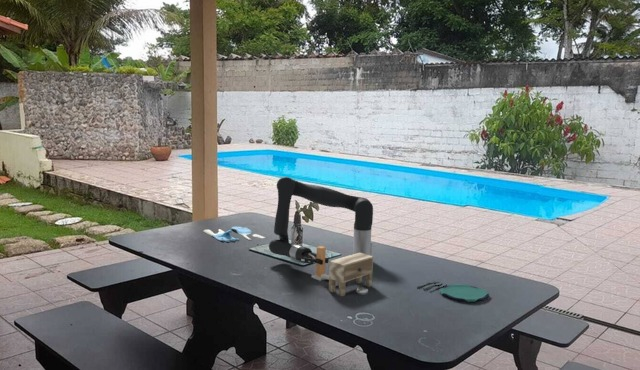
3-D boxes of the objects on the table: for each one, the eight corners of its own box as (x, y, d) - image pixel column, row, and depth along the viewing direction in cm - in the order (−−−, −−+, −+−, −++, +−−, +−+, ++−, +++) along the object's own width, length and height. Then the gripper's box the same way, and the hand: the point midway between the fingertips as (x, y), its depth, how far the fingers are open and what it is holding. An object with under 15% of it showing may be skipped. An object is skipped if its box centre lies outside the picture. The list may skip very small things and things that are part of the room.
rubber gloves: (243, 227, 354) (243, 218, 353) (266, 239, 327) (266, 228, 326) (203, 232, 339) (203, 222, 338) (224, 244, 312) (224, 234, 311)
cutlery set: (474, 307, 224) (474, 302, 224) (413, 290, 245) (413, 285, 244) (495, 296, 239) (495, 291, 238) (436, 280, 259) (436, 276, 259)
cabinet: (328, 291, 239) (329, 260, 237) (358, 281, 253) (359, 252, 251) (344, 297, 232) (345, 265, 230) (374, 286, 246) (375, 257, 244)
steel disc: (362, 290, 242) (362, 286, 241) (370, 293, 238) (370, 289, 238) (354, 292, 239) (354, 288, 238) (361, 296, 235) (362, 292, 235)
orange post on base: (310, 277, 256) (310, 247, 254) (321, 274, 262) (322, 244, 259) (334, 286, 245) (335, 254, 243) (346, 282, 250) (347, 251, 248)
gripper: (289, 248, 260) (314, 256, 248) (311, 243, 270) (335, 251, 258) (289, 263, 261) (314, 272, 249) (310, 258, 271) (335, 266, 259)
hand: (325, 261), depth 253 cm, fingers closed on orange post on base, 3 cm apart
